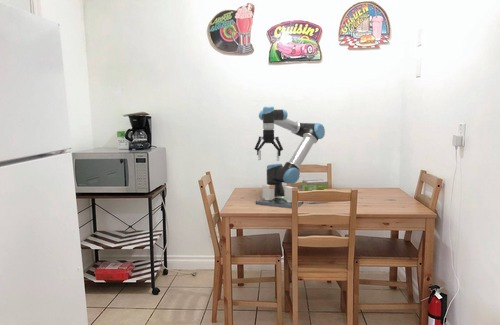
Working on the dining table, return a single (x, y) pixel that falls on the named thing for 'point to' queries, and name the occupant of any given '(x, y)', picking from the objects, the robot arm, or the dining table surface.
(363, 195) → the dining table surface
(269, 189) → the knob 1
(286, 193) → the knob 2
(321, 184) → the tea box
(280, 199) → the levelling base
